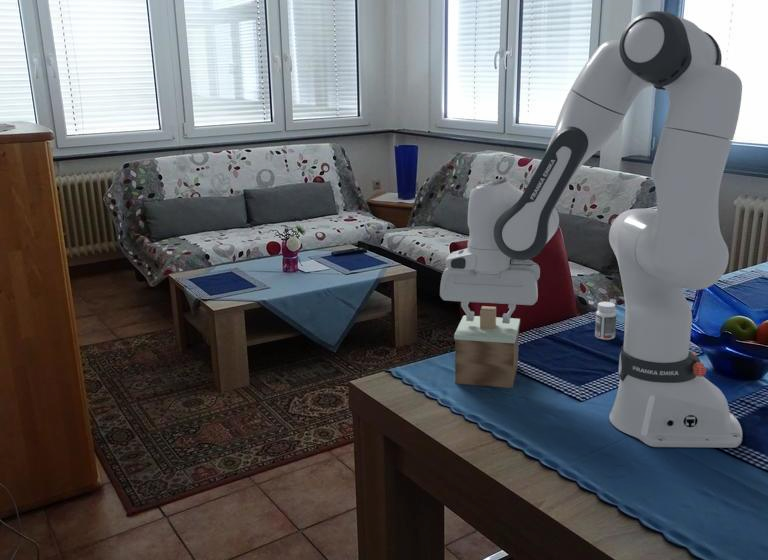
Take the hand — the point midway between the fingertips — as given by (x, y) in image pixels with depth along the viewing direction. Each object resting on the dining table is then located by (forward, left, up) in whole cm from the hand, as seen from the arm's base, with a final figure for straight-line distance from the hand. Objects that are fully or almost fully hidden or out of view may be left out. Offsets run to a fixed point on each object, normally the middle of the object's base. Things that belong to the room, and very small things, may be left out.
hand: (488, 321), depth 154 cm
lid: (0, 0, -2) cm, 2 cm away
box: (0, 0, -12) cm, 12 cm away
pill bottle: (-25, -28, -12) cm, 40 cm away
